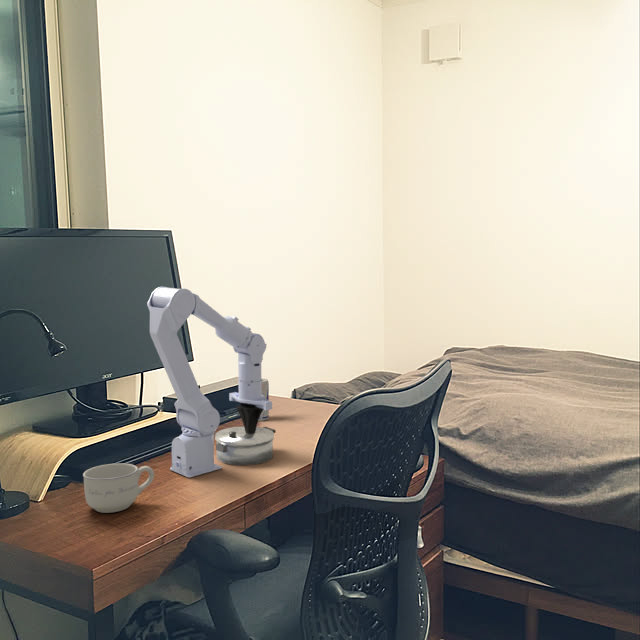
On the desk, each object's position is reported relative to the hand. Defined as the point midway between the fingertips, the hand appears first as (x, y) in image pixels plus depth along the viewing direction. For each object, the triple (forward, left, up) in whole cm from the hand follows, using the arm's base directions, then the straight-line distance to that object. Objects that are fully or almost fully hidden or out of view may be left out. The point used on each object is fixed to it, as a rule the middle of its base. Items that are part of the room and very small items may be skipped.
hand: (250, 433), depth 176 cm
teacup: (-41, -8, -6) cm, 42 cm away
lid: (-1, 0, -1) cm, 2 cm away
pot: (-2, 0, -6) cm, 6 cm away
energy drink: (+24, +25, -6) cm, 35 cm away
